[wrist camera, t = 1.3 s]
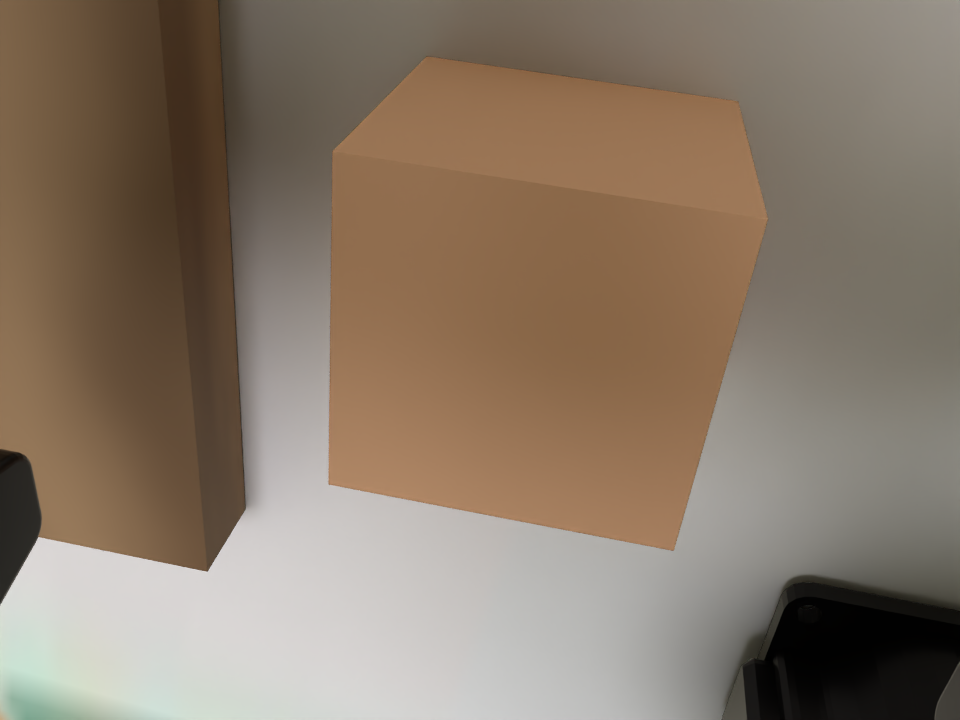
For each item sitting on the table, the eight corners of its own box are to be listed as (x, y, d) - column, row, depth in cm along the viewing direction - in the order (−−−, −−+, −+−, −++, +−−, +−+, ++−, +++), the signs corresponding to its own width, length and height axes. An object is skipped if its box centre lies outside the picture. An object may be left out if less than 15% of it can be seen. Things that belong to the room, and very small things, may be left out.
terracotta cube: (737, 99, 14) (768, 219, 10) (671, 366, 17) (673, 551, 13) (427, 54, 15) (332, 151, 11) (410, 321, 17) (328, 484, 13)
